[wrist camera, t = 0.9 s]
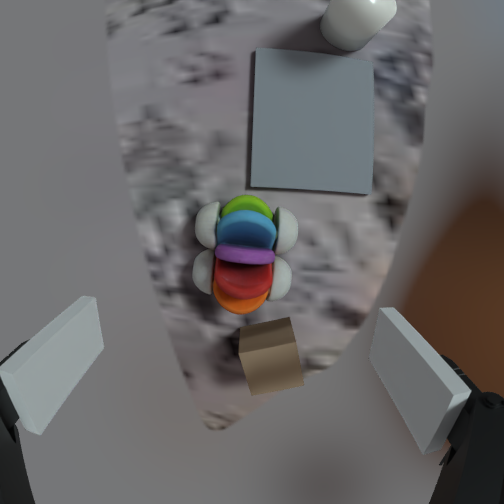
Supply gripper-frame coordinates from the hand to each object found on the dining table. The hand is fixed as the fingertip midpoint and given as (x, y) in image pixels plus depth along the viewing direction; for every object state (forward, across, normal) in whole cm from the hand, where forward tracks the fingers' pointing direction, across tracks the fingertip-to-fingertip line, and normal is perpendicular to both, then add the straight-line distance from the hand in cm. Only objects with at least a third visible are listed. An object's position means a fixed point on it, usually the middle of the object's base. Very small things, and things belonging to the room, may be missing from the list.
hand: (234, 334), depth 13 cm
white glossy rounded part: (+16, +9, +22) cm, 29 cm away
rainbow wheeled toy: (+16, 0, 0) cm, 16 cm away
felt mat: (+16, +6, +12) cm, 21 cm away
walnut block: (+16, +3, -10) cm, 19 cm away
